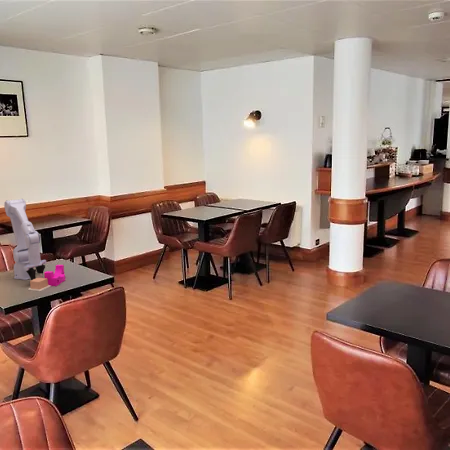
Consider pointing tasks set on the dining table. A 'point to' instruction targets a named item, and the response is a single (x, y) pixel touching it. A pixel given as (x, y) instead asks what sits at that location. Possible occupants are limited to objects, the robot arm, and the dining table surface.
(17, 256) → the robot arm
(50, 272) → the toy block
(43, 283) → the terracotta brick
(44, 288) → the baseplate
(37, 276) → the sage brick
